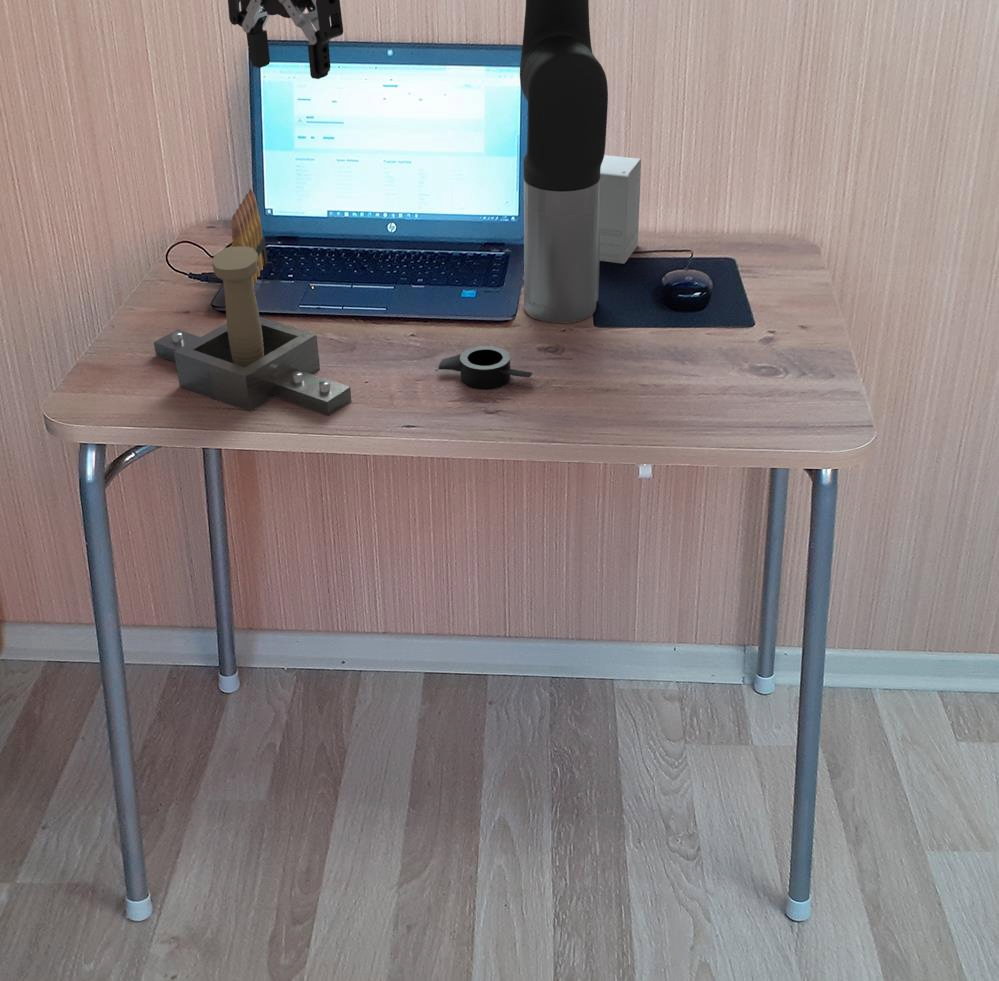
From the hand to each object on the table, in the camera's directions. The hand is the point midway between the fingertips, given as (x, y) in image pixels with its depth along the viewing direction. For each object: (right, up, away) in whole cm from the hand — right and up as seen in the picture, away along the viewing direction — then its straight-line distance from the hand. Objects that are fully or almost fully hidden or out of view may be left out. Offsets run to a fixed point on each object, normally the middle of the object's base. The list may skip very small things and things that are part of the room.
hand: (290, 71), depth 144 cm
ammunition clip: (-10, -19, +29) cm, 37 cm away
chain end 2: (0, -35, +5) cm, 35 cm away
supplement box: (+38, -13, +38) cm, 55 cm away
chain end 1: (-12, -31, +11) cm, 35 cm away
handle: (-6, -33, +8) cm, 35 cm away
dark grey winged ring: (+22, -34, +8) cm, 41 cm away
